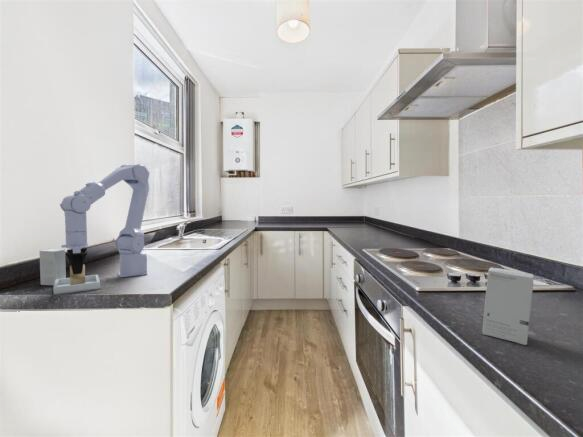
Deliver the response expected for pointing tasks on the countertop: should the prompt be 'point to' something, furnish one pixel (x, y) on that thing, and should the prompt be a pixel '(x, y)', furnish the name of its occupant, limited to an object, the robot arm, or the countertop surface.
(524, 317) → the skincare box
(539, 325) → the countertop surface
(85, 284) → the tray
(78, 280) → the birch cylinder
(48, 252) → the skincare box
